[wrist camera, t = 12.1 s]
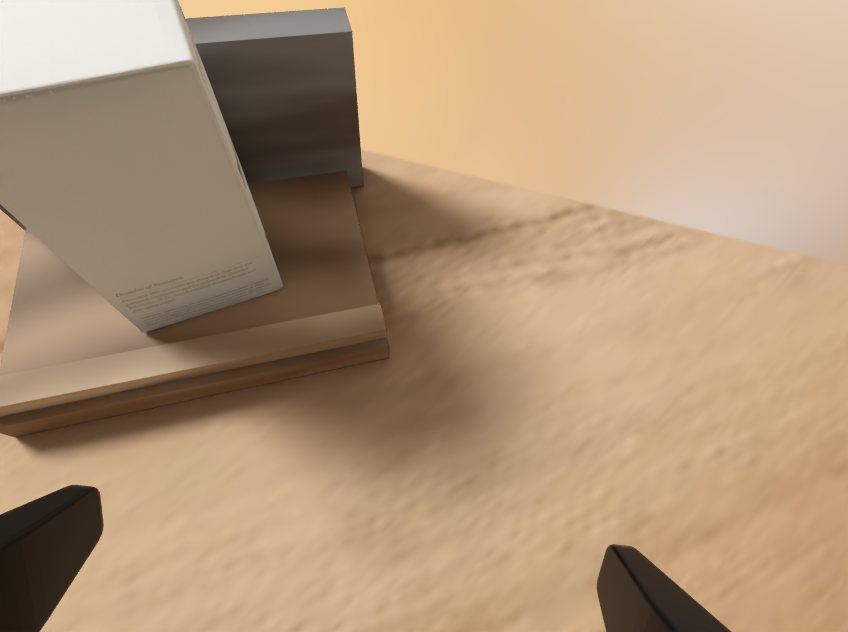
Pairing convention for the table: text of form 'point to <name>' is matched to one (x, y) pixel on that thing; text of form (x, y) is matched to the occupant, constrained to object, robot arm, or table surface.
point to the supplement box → (126, 158)
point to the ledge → (284, 228)
